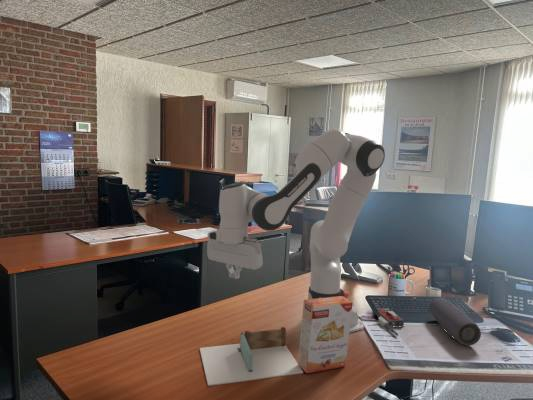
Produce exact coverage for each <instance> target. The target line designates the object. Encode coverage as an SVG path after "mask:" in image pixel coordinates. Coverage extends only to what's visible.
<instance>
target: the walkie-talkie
mask: <svg viewBox="0 0 533 400" xmlns="http://www.w3.org/2000/svg"><path fill="white" fill-rule="evenodd" d="M376 309H377V310H378V313H380V315H381V316H380V317H378V318H377V319H378V324H379V323H380V324H381V325H380V324H379V325H380V326H381V327H382V326H383V327H384V328H387V329H388V330H389V331H390V332H391V333H393V334H394V335H395V336H399V333H398V332H397V331H395V330H394V329H393V328H394V327H393V326H403V325H405V320H404V319H403V318H401V316H399V315H398V314H397V313H395V312H394V311H393V310H391V309H390V308H388V307H379V308H376ZM389 309H390V310H391V311H390V310H389ZM380 310H381V311H380ZM372 313H373V314H374V312H373V311H372ZM383 327H382V328H383ZM391 327H392V328H391ZM403 327H404V326H403Z"/></svg>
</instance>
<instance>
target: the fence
mask: <svg viewBox="0 0 533 400" xmlns="http://www.w3.org/2000/svg"><path fill="white" fill-rule="evenodd" d="M286 328H287V327H285V326H283V327H280V328H279V329H271V330H259V331H251V332H250V331H249V330H245V331H244V336H245V338H246V340H247V343H248V345H249V347H250V350H252V349H261V348H270V347H279V346H285V345H286V337H287V336H286V334H287V333H286V331H287V329H286Z"/></svg>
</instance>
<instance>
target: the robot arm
mask: <svg viewBox="0 0 533 400" xmlns="http://www.w3.org/2000/svg"><path fill="white" fill-rule="evenodd" d="M385 152H386V151H385V148H384V147H383V145H382V144H380V143H379V142H377V141H376V140H372V139H370V138H368V137H365V136H362V135H355V134H351V133H348V132H344V131H342V130H341V129H338V128H332V129H329V130H327V131H325V132H324V133H321V134H320V135H319V136H317V137H315V138H314V139H313V140H312V141H310V142H309V143H308V144H306V146H305V147H304V148H302V150H301V151H299V153H298V154H297V156H296V157H295V169H296V173H295V175H294V176H293V177H292V178H291V179H290V180H289V181H288V182H287V183H286V184H285V185H284V186H283V187H282V188H281V189H280V190H279V191H278V192H276V193H274V194H268V193H265V192H261V191H258V190H256V189H253V188H252V187H251V186H248V185H247V184H245V183H244V182H234V183H230V184H226V185H224V186H223V187H222V188H221V190H220V191H219V192H220V193H219V200H218V201H219V202H218V203H219V207H218V208H219V209H218V211H219V216H220V222H219V228H218V229H216V230H212V231H209V232H207V239H208V240H207V246H206V249H207V251H206V253H207V258H208V260H210V261H214V262H218V263H222V264H225V267H226V269H227V270H228V276H229V278H232V279H236V280H238V279H240V277H241V276H240V275H241V274H240V273H241V272H242V270H243V268H244V269H247V270H253V271H256V270H259V269H261V268H262V267H263V265H264V263H263V262H264V261H263V259H264V258H263V253H262V244H261V242H260V241H259V240H258V239H257V238H252V237H249V223H255V224H256V225H257V226H258V227H259V228H260V229H261V230H264V231H268V232H269V231H271V232H272V231H275V230H278V229H279V228H281V227H282V226H283V225H284V223H286V220H287V219H288V218H289V216H290V213H291V211H292V210H293V208H294V207H295V206H297V204H298V203H299V202H300V201H301V200H302V199H303V198H304V197H305V196H306V195H307V194H308V193H309V192H310V191H311V190H312V189H313V188H314V187H315V186H316V184H317V183H318V182H319V181H320V180H321V179H322V178H323V177H324V176H325V175H326V174H327V173H328V172H330V170H332V169H333V168H334V167H335V166H337V164H338V163H341V164H342V165H344V166H346V168H347V169H346V173H345V175H344V176H343V177H342V179H341V181H340V183H339V184H338V185H337V189H336V190H335V191H334V193H333V196H332V197H331V200H330V201H329V202H328V203H329V204H328V208H327V212H326V215H325V216H324V219H323V220H322V219H321V220H318V221H315V222H314V223H313V225H312V226H311V229H310V281H309V286H308V294H307V299H316V298H327V297H337V296H343V297H344V298H346V299H348V298H349V297H350V293H348V292H347V291H346V290H345V291H344V289H342V288H341V279H342V277H341V276H342V268H341V267H342V266H341V258H342V257H343V256H344V255H345V254H346V253H347V250H348V247H349V242H350V238H351V236H352V233H353V229H354V227H355V224H356V221H357V218H358V217H359V215H360V212H361V211H362V209H363V207H364V205H365V203H366V201H367V199H368V197H369V196H370V193H371V191H372V189H373V187H374V184H375V181H376V178H377V172H378V170H380V168H381V167H382V165H383V164H384V162H385V158H386V153H385ZM364 328H365V325H364V322H363V321H362V320H361V319H360V318H359V314H358V311H357V309H356V308H355V307H354V306H353V305H352V313H351V322H350V330H349V334H351V333H354V332H358V331H362V330H364Z"/></svg>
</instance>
